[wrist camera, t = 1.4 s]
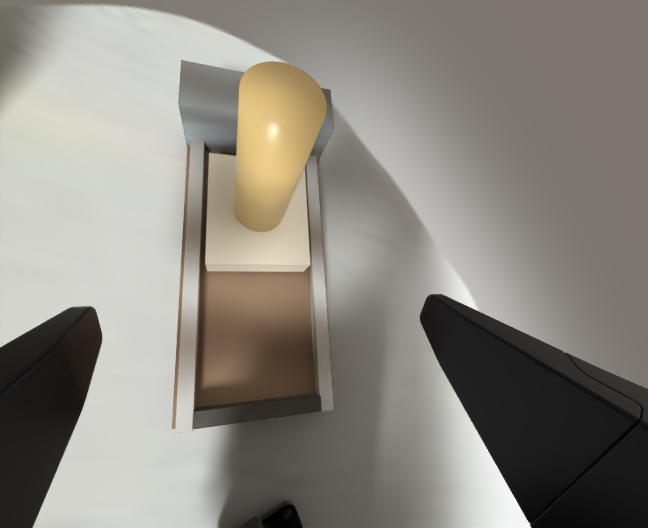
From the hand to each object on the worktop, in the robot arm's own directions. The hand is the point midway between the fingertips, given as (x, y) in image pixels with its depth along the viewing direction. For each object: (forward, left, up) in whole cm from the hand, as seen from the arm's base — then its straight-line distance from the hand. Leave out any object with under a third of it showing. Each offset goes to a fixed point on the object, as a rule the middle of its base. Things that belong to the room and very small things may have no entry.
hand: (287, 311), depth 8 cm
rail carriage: (+7, -3, -11) cm, 13 cm away
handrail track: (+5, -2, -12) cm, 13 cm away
